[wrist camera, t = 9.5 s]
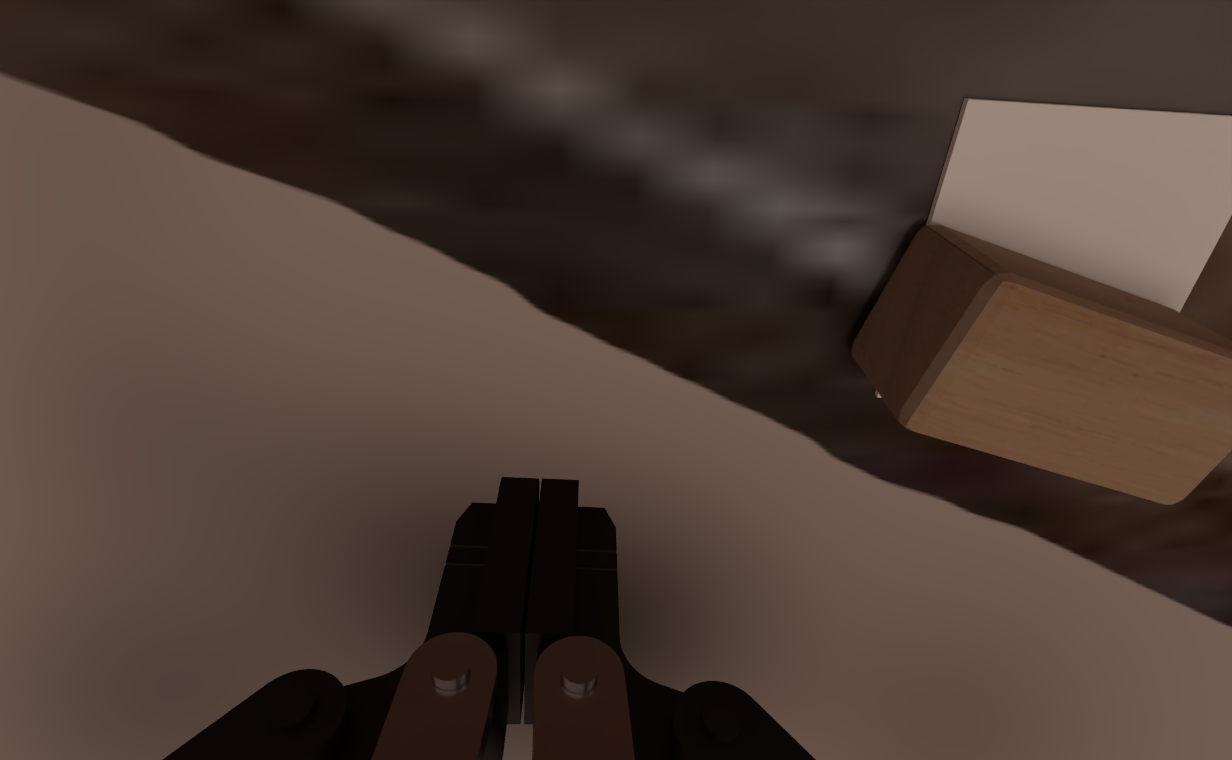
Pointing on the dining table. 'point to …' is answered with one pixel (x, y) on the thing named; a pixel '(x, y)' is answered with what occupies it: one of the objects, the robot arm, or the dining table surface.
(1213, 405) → the wooden block
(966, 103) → the pale grey mat
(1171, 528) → the dining table surface
